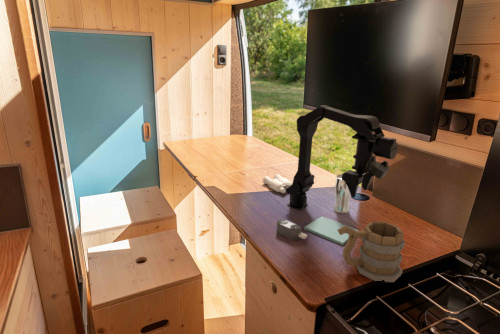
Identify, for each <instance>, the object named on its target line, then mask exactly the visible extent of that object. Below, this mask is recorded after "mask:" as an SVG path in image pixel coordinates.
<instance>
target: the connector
mask: <svg viewBox="0 0 500 334" xmlns="http://www.w3.org/2000/svg"><path fill="white" fill-rule="evenodd" d="M276 232H277V234H279V235H281V236H284V237H285V238H288V239H290V240H293V241H299V240H301V239H303V240H305V239H306V238H308V234H306V233H304V232H302V226H300V225H298V224H296V223H294V222H292V221H289V220H288V219H287V220H286V219H283V218H282V219H280V218H279V219H277V221H276Z"/></svg>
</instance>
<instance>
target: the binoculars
mask: <svg viewBox="0 0 500 334" xmlns="http://www.w3.org/2000/svg"><path fill="white" fill-rule="evenodd" d="M262 183H263V184H264V185H267V186H268V187H269V188H270V189H272V190H274V191H275V192H276V193H281V194H285V193H286V192H287V188H288V187H290V186H291V185H292V183H293V181H290V179H287V178H285V177H282V176H281V175H280V174H279V173H276V174H274V176H273V178H270V177H269V176H268V175H266V176H264V177H263V178H262Z"/></svg>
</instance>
